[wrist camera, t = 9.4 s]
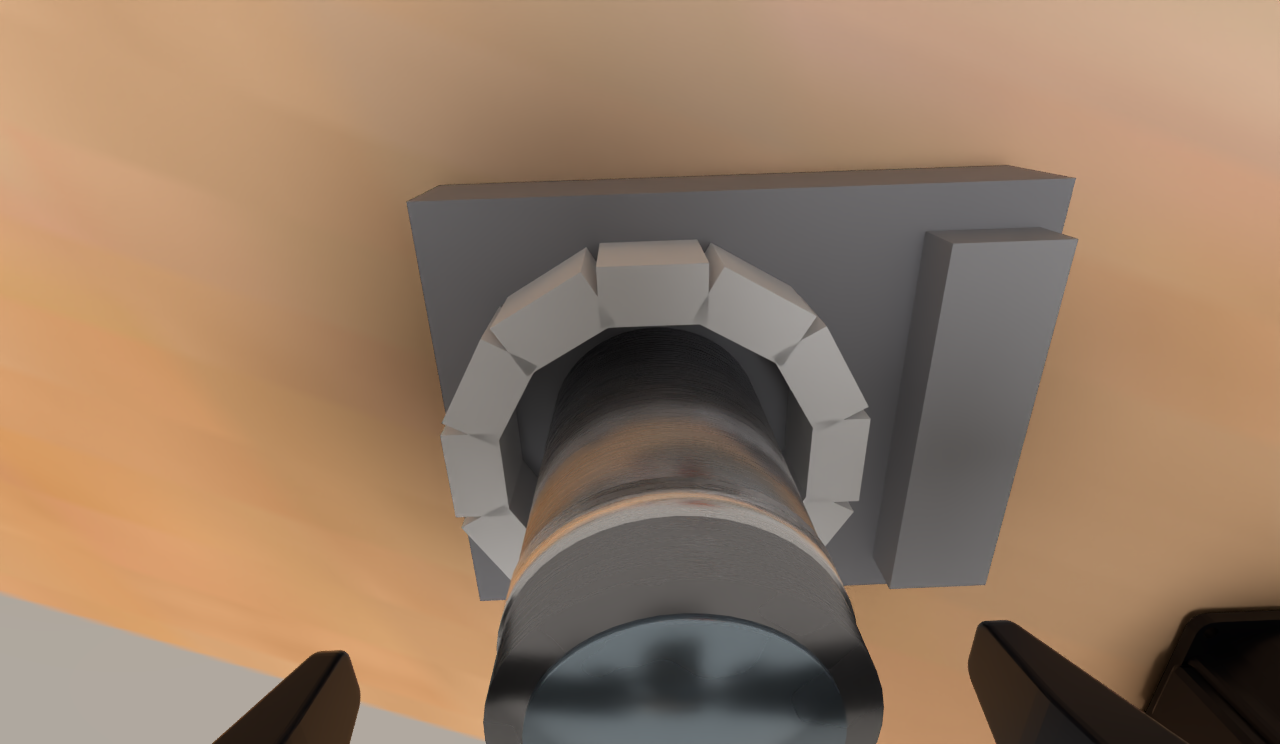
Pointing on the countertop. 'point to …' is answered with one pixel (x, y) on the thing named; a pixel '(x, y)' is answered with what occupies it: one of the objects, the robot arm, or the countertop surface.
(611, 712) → the lens
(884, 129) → the countertop surface
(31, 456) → the countertop surface
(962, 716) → the countertop surface
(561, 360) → the camera body
